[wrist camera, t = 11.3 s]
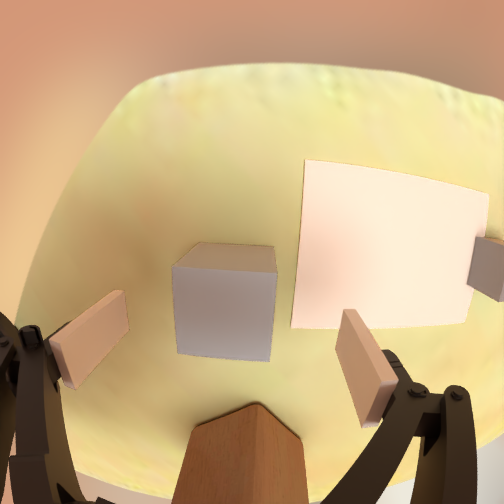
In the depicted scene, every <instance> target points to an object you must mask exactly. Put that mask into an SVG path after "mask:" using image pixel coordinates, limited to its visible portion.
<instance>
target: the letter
mask: <svg viewBox="0 0 504 504" xmlns="http://www.w3.org/2000/svg"><path fill="white" fill-rule="evenodd" d="M488 203H489V194H486V193H483V192H480V191H476V190H473V189H469V188H465V187H462V186H458V185H454V184H450V183H446V182H442V181H437V180H433V179H429V178H424V177H419V176H415V175H410V174H404V173H399V172H394V171H388V170H382V169H376V168H370V167H364V166H357V165H350V164H342V163H334V162H325V161H316V160H306V159H305V167H304V185H303V201H302V215H301V228H300V240H299V252H298V262H297V273H296V283H295V292H294V301H293V310H292V318H291V328H307V329H339V328H340V323H341V318H342V313H343V309H356V310H357V312H358V314H359V315H360V317H361V318H362V320H363V321H364V323H365V325H366V326H367V328H368V329H376V328H402V327H420V326H434V325H446V324H457V323H464V322H465V319H466V316H467V313H468V310H469V306H470V303H471V299H472V296H473V292H474V288H472V287H471V286H469V285H467V282H468V278H469V273H470V269H471V264H472V259H473V253H474V248H475V241H476V237H484V238H485V231H486V223H487V214H488Z"/></svg>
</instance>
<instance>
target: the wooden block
mask: <svg viewBox="0 0 504 504" xmlns="http://www.w3.org/2000/svg"><path fill="white" fill-rule="evenodd" d="M171 504H309V500H308V489H307V479H306V469H305V460H304V450H303V444H302V442H301V441H300V439H298V438H297V437H296V436H295V435H294V434H293V433H291V432H290V431H289V430H288V429H287V428H286V427H285V426H283V425H282V424H281V423H280V422H279V421H278V420H277V419H276V418H274V417H273V416H272V415H271V414H270V413H269V412H268V411H267V410H266V409H265V408H264V407H263V406H261V405H258V404H254V405H251V406H248V407H246V408H244V409H241V410H239V411H236V412H234V413H232V414H229V415H227V416H224V417H221V418H219V419H216V420H214V421H211V422H208V423H205V424H203V425H200V426H197V427H196V428H195V429H194V430H193V431H192V433H191V436H190V439H189V443H188V446H187V450H186V453H185V457H184V460H183V464H182V467H181V471H180V474H179V478H178V481H177V485H176V488H175V492H174V495H173V499H172V503H171Z"/></svg>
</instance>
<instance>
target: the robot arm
mask: <svg viewBox="0 0 504 504" xmlns="http://www.w3.org/2000/svg"><path fill="white" fill-rule="evenodd" d="M129 330H130V329H129V323H128V316H127V309H126V301H125V292H124V291H121V290H113V291H112V292H110V293H109V294H108V295H106V296H105V297H103V298H102V299H101V300H99V301H98V302H97V303H95V304H94V305H93V306H91V307H90V308H89V309H87V310H86V311H85V312H83V313H82V314H81V315H79V316H78V317H77V318H75V319H74V320H72V321H70V322H67V323H66V324H64V325H63V326H62V327H61V328H59V329H58V330H56V332H54V333H53V334H51V335H50V336H49V337H47V338H46V339H45V340H44V341H43V338H42V335H41V331H40V328H39V327H38V326H36V325H28V326H25V327H22V328H21V329H20V330H19V331H18V330H17V329H16V328H15V326H14V325H13V324H12V323H11V322H10V321H9V319H8V318H7V317H6V316H4V314H2V313H1V312H0V504H1V501H2V497H3V493H4V487H5V480H6V473H7V467H8V461H9V472H10V481H11V489H12V496H13V502H14V504H115V503H112V502H110V501H107V500H105V499H103V498H100V497H98V498H97V500H96V502H93V501H86V499H85V497H84V496H83V494H82V492H81V490H80V487H79V483H78V480H77V477H76V473H75V470H74V466H73V462H72V458H71V454H70V450H69V445H68V440H67V435H66V430H65V424H64V418H63V411H62V404H61V396H60V386H59V383H58V381H57V380H58V379H59V378H60V377H62V380H63V382H64V385H65V386H67V387H69V388H72V389H74V390H76V389H77V388H78V387H79V386H80V385H81V384H82V382H83V381H84V380H85V379H86V378H87V377H88V376H89V374H90V373H91V372H92V371H93V370H94V369H95V368H96V366H97V365H98V364H99V363H100V362H101V361H102V360H103V358H104V357H105V356H106V355H107V354H108V353H109V352H110V351H111V350H112V348H113V347H114V346H115V345H116V344H117V343H118V342H119V341H120V340H121V338H122V337H123V336H124V335H125V334H126V333H127V332H128V331H129ZM335 350H336V353H337V356H338V359H339V361H340V364H341V367H342V370H343V373H344V376H345V379H346V382H347V385H348V387H349V390H350V393H351V396H352V399H353V403H354V406H355V409H356V412H357V415H358V418H359V421H360V424H361V428H366V427H374V426H378V424H379V422H380V420H381V418H383V422H382V423H381V425H380V426H379V428H378V430H377V431H376V433H375V434H374V436H373V437H372V439H371V440H370V442H369V443H368V445H367V446H366V447H365V449H364V450H363V452H362V453H361V455H360V456H359V457H358V459H357V460H356V461H355V463H354V464H353V465H352V467H351V468H350V469H349V470H348V472H347V473H346V474H345V475H344V477H343V478H342V479H341V480H340V482H339V483H338V484H337V485H336V486H335V488H334V489H333V490H332V491H331V492H330V493H329V494H328V495H327V497H326V498H325V499H324V500H323V501H322V502H321V503H320V504H376V502H377V501H378V499H379V498H380V496H381V495H382V493H383V491H384V490H385V488H386V487H387V485H388V483H389V482H390V480H391V478H392V476H393V475H394V473H395V471H396V469H397V468H398V466H399V464H400V462H401V460H402V458H403V456H404V454H405V452H406V450H407V448H408V446H409V444H410V442H411V440H412V438H413V436H417V437H421V442H420V450H419V458H418V465H417V471H416V477H415V483H414V488H413V493H412V497H411V502H410V504H476V502H477V450H476V437H475V428H474V420H473V412H472V406H471V400H470V395H469V393H468V391H467V390H466V389H465V388H463V387H461V386H457V385H451V386H448V387H447V388H446V389H445V391H444V393H443V394H434V393H430V392H429V390H428V389H427V388H426V387H425V386H424V385H422V384H420V383H416V382H413V381H412V379H411V378H410V376H409V374H408V373H407V371H406V370H405V368H404V367H403V365H402V363H401V362H400V360H399V359H398V357H397V356H396V355H395V354H394V353H393V352H391V351H390V350H381V349H380V347H379V346H378V344H377V342H376V341H375V339H374V337H373V336H372V334H371V333H370V331H369V329H368V328H367V326H366V325H365V323H364V321H363V320H362V318H361V317H360V315H359V314H358V312H357V310H356V309H343V313H342V318H341V323H340V328H339V333H338V338H337V342H336V347H335ZM14 433H16V434H15V435H16V455H15V456H14V455H13V456H10V457H9V455H10V450H11V446H12V441H13V437H14Z"/></svg>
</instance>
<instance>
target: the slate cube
mask: <svg viewBox="0 0 504 504" xmlns="http://www.w3.org/2000/svg"><path fill="white" fill-rule="evenodd" d="M172 284H173V302H174V317H175V330H176V341H177V351H178V354H185V355H193V356H201V357H210V358H220V359H231V360H244V361H260V362H270V353H271V342H272V332H273V320H274V309H275V297H276V285H277V267H276V260H275V253H274V246H256V245H238V244H219V243H200V242H199V243H198V244H197V245H196V246H194V247H193V248H192V249H191V250H190V251H189V252H188V253H186V254H185V255H184V256H183V257H182V258H181V259H180V260H178V261H177V262H176V263H175V264H174V265H173V266H172Z"/></svg>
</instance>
